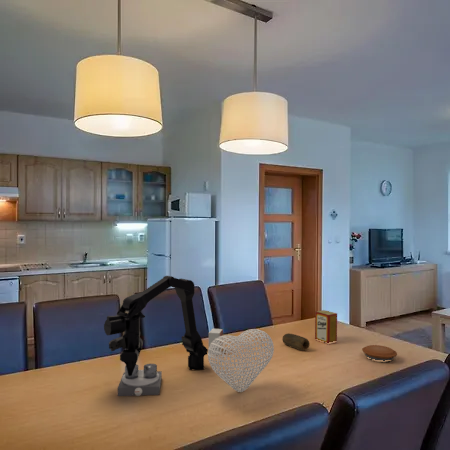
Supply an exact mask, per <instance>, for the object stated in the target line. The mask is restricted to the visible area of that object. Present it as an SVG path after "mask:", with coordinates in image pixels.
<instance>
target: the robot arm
mask: <svg viewBox="0 0 450 450" xmlns="http://www.w3.org/2000/svg"><path fill="white" fill-rule="evenodd" d="M171 287H172V288H174V290H175V292H176V293H175V294H176V295H177V296H178V299H180V304H181V309H182V317H183V318H182V319H183V323H184V329H185V332H184V335H181V341H182V342H181V343H182V346H183V347H184V349H185V351H186V353H189V355H188V356H187V368H188V370H189V371H192V370H194V371H195V370H199V371H202V370H205V356H208V347H206V346H205V345H204V343H203V338H202V336H201V334H200V333H199V332H198V330H197V322H196V315H195V308H194V303H193V302H194V301H193V298H194V295H195V282H194V281H193V280H191V279H186V278H176V277H175V276H171V275H164V276H163V277H162V278H161V279H159V280H158V281H156V282H155V283H153V284H152V285H150V286H149V287H147V288H146V289H144V290H142V291H141V292H138V293H135V294H131V295H129V296H127V297H124V299H123V301H122V304H121V306H120V308H119V309H118V311H117V313H116V314H115V315H107V316H106V320H105V321H104V324H103V330H104V333H105V335H106V336H113V335H117V334H123V335H122V336H120V337H117V338H113V339H112V340H111V339H110V341H109V342H108V349H110V352H114V351H115V350H119V349H122V351H121V352H120V354H119V361H121V362H123V363H124V364H125V366H126V367H127V371H128V375H129V376H132V373H133V371H134V368H135V365H136V364H137V363H138V361H139V357H140V354H141V352H142V351H141V350H142V348H143V339H142V338H141V337H140V336H141V329H140V328H141V327H140V326H141V319H144V318H145V317H146V315H145V314H143V313H142V311H143V310H144V309H145V308H146V306H147V305H148V303H149V302H150V301H152V300H154V299H155V298H157V296H159V295H161V294H162V293H164V292H165V291H166V290H168V289H169V288H171Z"/></svg>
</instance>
